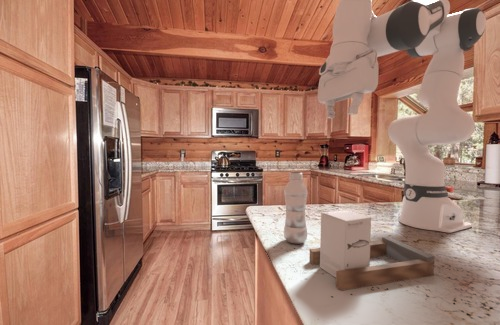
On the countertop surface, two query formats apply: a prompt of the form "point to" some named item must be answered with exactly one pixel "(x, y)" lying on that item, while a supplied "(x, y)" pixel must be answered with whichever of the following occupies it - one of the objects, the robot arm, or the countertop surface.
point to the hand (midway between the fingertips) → (340, 116)
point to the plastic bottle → (295, 209)
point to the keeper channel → (384, 265)
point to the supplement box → (344, 241)
